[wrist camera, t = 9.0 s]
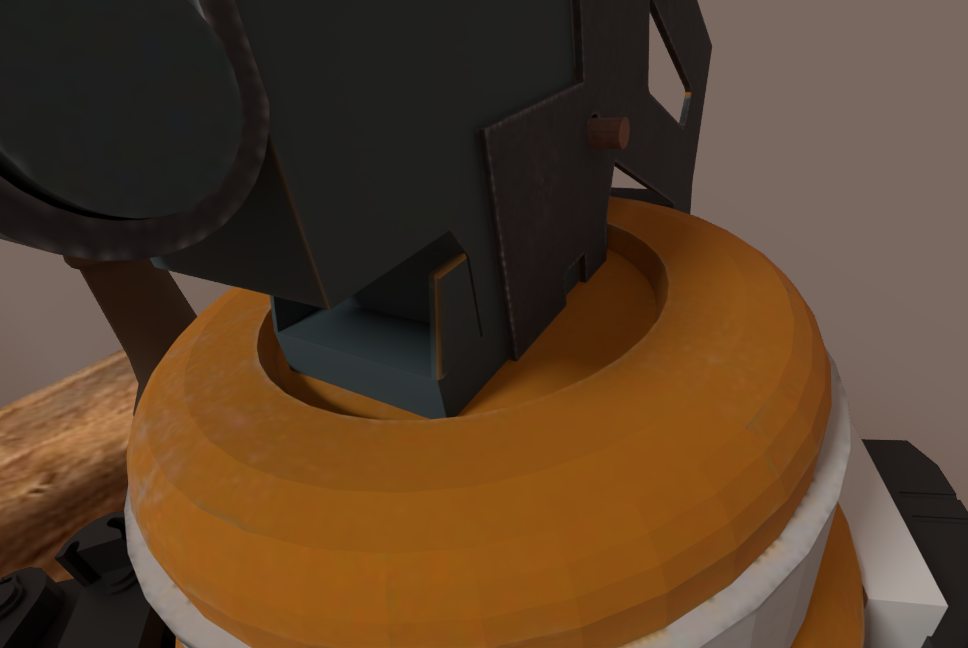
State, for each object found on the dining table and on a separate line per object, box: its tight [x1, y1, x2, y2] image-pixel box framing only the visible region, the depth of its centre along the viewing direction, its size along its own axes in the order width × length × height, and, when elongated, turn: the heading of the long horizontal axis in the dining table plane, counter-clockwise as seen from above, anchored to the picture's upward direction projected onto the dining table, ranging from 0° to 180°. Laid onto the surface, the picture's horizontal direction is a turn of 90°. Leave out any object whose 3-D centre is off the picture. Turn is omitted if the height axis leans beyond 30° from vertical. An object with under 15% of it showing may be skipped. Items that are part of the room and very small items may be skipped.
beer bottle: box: [63, 255, 197, 416], centre depth 30 cm, size 8×8×24 cm
